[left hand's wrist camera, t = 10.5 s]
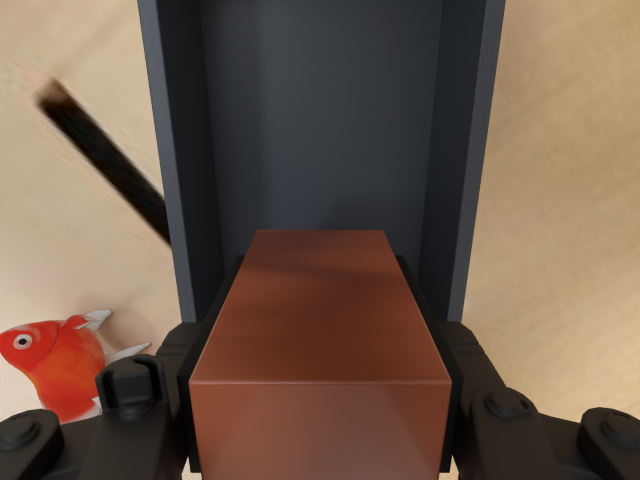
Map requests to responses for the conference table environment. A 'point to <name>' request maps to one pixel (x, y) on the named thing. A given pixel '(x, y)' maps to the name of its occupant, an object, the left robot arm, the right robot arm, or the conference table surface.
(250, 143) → the tray
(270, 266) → the block
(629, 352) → the conference table surface
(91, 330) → the fish
